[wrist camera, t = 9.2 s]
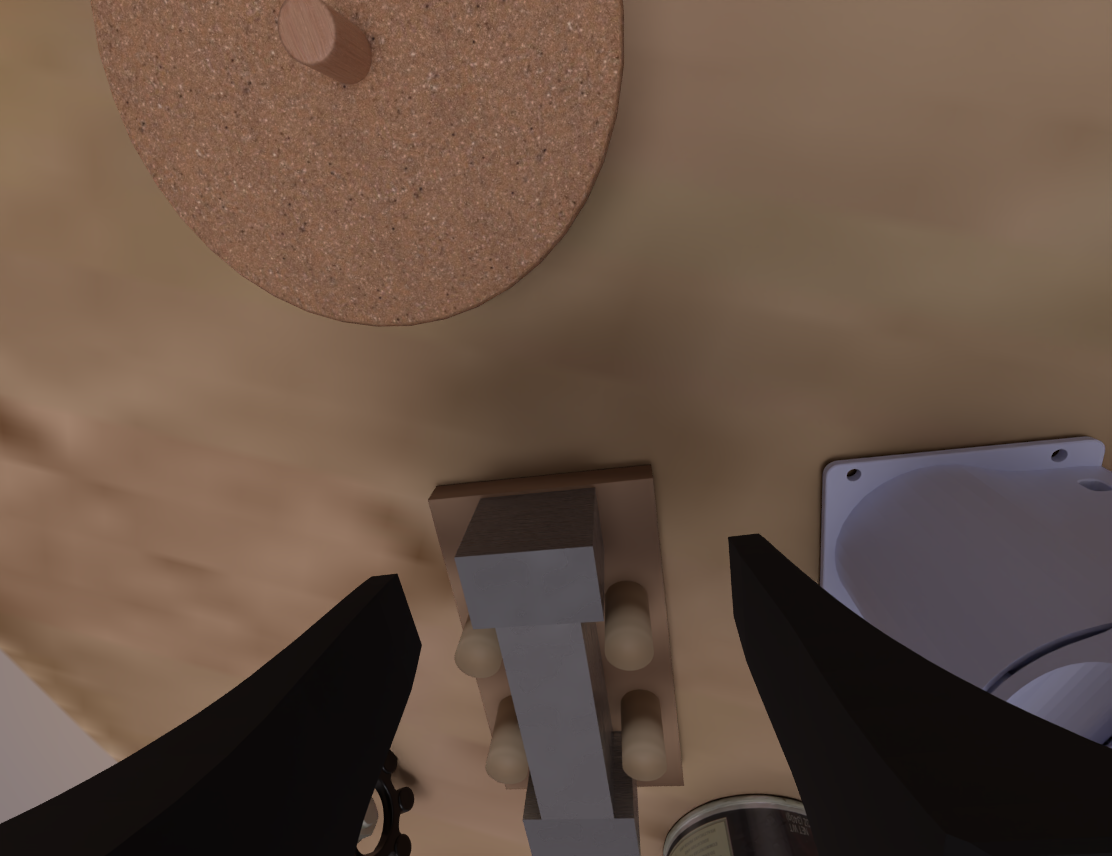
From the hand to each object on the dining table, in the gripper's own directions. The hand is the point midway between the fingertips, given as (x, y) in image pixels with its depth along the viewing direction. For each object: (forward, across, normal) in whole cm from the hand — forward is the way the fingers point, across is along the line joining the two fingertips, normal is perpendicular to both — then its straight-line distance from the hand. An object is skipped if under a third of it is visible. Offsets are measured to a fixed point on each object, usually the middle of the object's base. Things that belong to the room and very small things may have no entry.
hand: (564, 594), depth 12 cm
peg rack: (+10, +2, +11) cm, 15 cm away
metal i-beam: (+9, +2, +10) cm, 14 cm away
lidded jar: (+11, +2, -11) cm, 16 cm away
